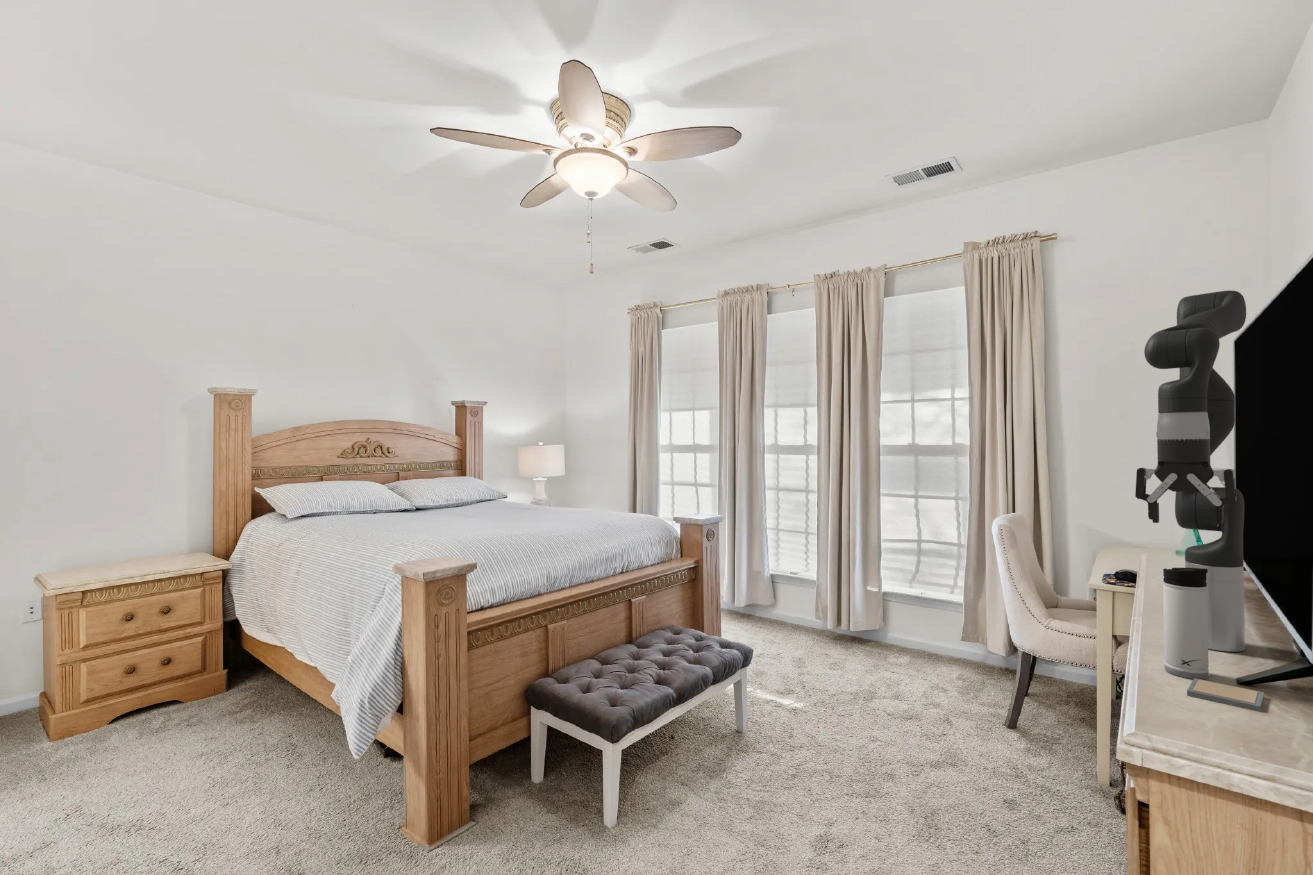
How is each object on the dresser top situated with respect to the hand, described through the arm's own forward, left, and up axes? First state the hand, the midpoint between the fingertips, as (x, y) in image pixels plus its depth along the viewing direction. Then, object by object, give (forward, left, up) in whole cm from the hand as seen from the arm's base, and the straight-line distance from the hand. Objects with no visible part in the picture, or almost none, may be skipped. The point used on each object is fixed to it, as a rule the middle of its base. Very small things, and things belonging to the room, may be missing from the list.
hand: (1184, 524), depth 117 cm
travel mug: (0, 0, -28) cm, 28 cm away
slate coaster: (+9, +6, -28) cm, 30 cm away
